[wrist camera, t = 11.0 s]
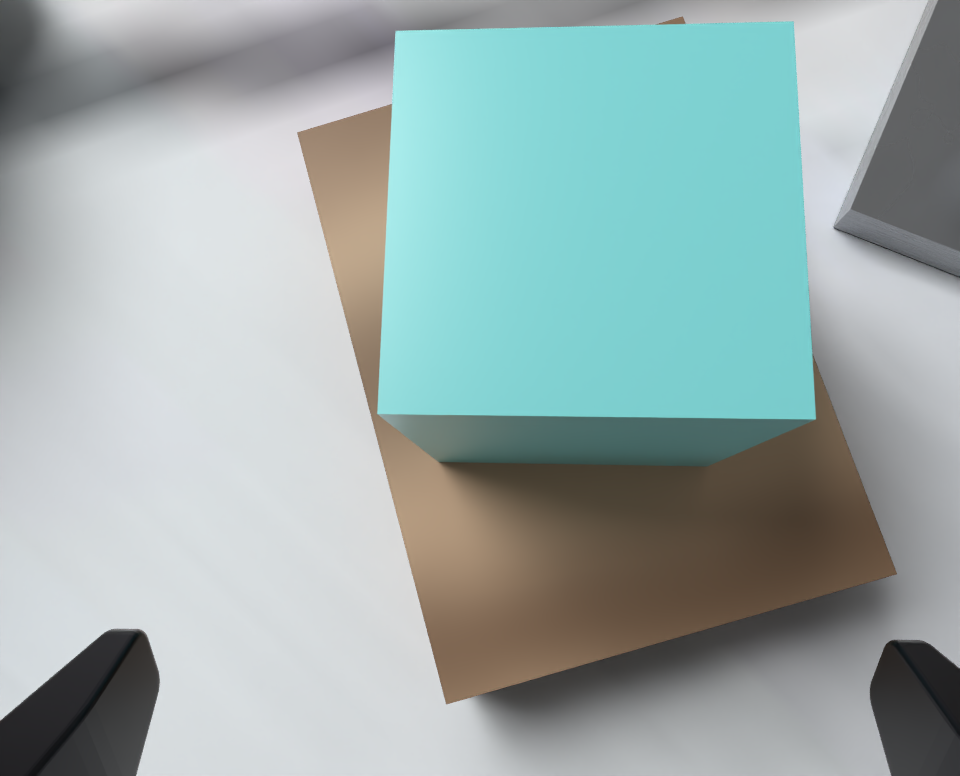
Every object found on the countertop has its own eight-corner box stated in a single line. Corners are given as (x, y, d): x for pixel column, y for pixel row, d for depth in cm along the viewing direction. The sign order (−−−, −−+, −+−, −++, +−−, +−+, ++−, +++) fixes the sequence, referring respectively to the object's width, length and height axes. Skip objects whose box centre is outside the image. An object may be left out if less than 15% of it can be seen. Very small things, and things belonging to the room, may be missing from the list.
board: (843, 568, 20) (897, 574, 17) (459, 680, 20) (446, 704, 17) (663, 84, 23) (682, 16, 20) (328, 185, 23) (297, 132, 20)
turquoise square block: (707, 466, 18) (816, 419, 11) (438, 461, 18) (377, 414, 11) (699, 211, 19) (793, 21, 12) (446, 212, 19) (395, 31, 12)
